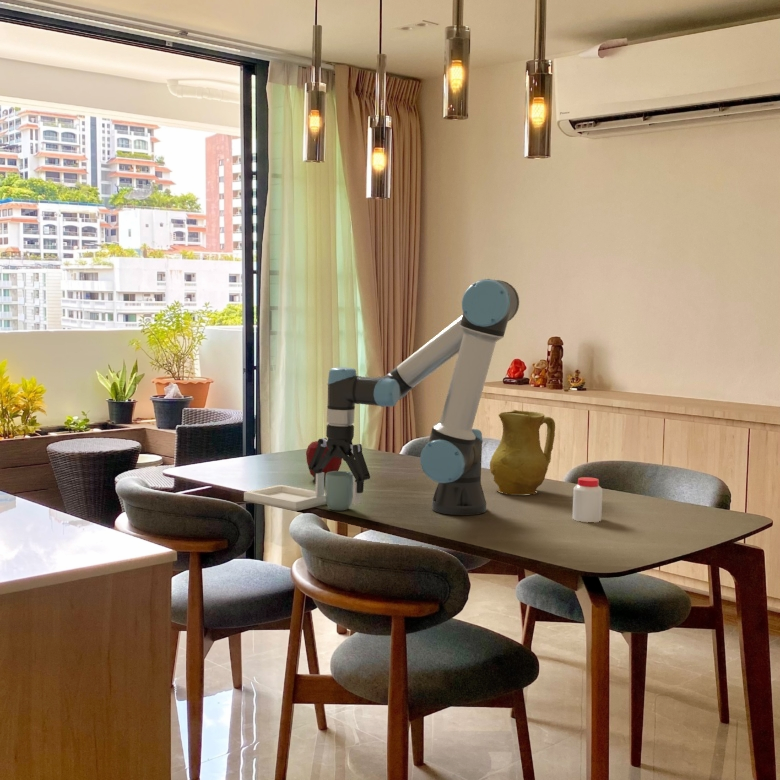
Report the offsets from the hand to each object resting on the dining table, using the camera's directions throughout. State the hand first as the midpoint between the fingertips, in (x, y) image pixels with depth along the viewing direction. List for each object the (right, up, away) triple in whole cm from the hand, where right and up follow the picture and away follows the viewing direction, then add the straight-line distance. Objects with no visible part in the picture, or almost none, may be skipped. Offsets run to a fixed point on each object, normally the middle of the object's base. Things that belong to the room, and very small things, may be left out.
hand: (337, 500), depth 270 cm
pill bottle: (+67, -5, -6) cm, 68 cm away
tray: (-15, -1, +8) cm, 17 cm away
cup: (0, -3, 0) cm, 3 cm away
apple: (-7, +2, +43) cm, 44 cm away
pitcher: (+54, -1, +29) cm, 62 cm away
